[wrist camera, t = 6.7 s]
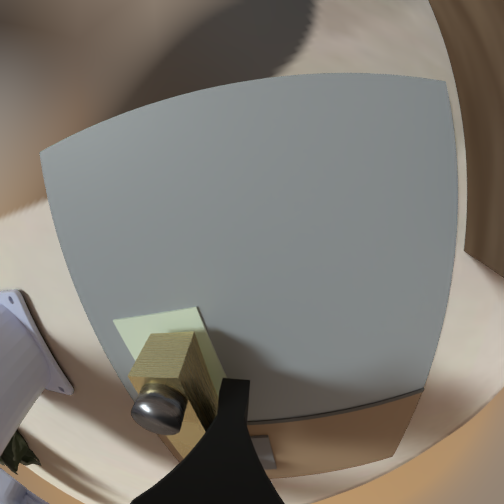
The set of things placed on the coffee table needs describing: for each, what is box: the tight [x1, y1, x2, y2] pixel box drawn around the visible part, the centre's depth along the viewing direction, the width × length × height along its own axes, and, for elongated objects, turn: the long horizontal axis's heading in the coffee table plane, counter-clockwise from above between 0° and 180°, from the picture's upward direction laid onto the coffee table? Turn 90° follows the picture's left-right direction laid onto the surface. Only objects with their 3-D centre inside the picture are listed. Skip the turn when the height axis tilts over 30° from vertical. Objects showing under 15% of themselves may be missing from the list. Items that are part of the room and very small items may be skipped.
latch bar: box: [128, 331, 219, 458], centre depth 10 cm, size 10×2×3 cm, turn 9°
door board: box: [40, 73, 458, 479], centre depth 10 cm, size 16×24×4 cm, turn 9°
